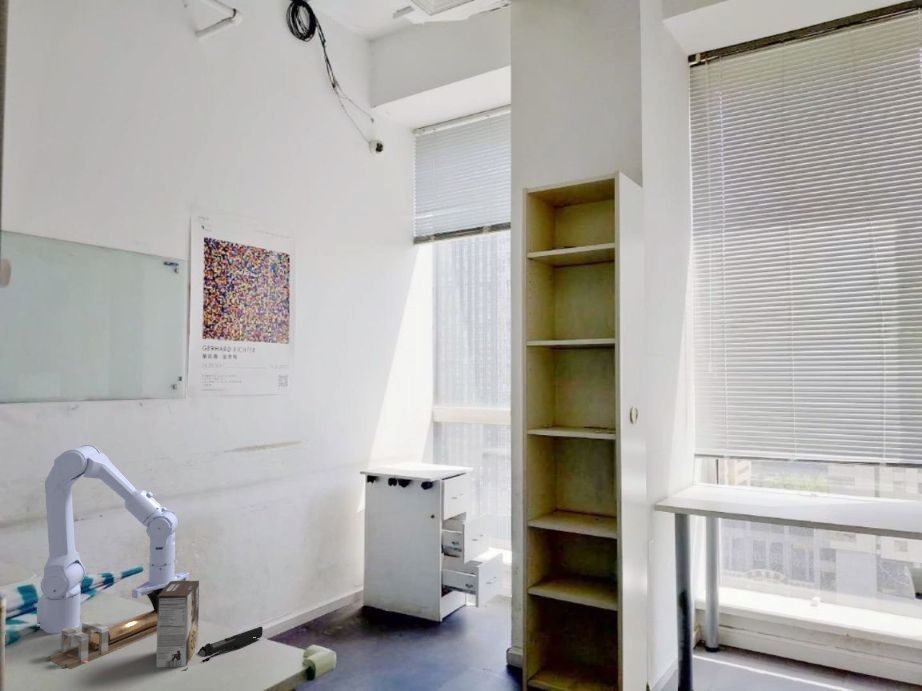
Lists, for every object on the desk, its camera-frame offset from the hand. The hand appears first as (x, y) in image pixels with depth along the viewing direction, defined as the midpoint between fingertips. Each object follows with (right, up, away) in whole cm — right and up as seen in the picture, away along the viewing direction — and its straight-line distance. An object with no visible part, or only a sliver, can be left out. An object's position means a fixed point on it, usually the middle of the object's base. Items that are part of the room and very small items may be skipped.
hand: (160, 618), depth 158 cm
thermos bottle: (-4, -1, -8) cm, 9 cm away
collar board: (-5, -2, -10) cm, 12 cm away
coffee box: (+12, -2, -18) cm, 22 cm away
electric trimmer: (+21, -3, -11) cm, 24 cm away
